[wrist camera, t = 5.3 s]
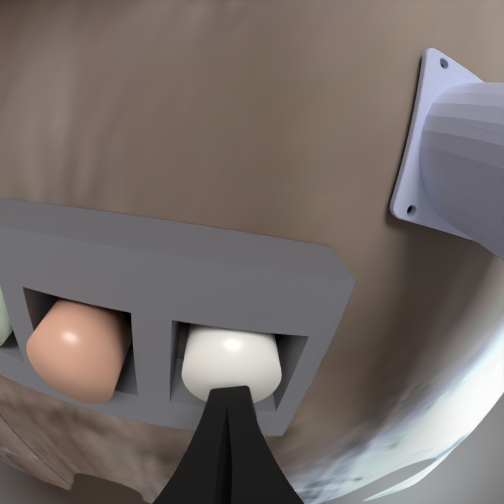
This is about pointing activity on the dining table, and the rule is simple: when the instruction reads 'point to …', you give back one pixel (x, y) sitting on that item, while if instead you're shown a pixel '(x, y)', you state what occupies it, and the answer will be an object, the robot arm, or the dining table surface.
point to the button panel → (169, 300)
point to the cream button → (230, 361)
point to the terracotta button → (80, 349)
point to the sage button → (4, 321)
